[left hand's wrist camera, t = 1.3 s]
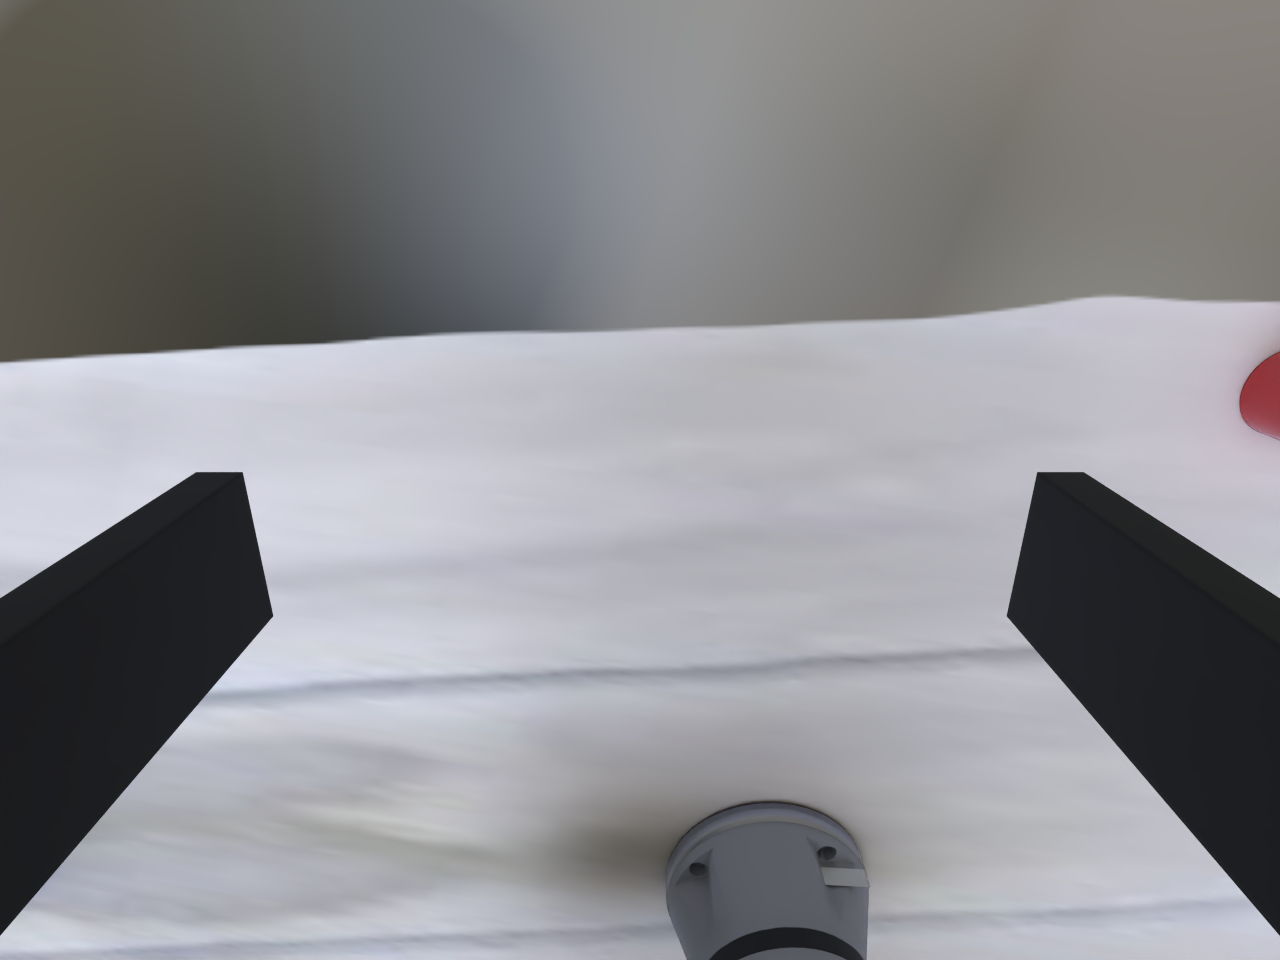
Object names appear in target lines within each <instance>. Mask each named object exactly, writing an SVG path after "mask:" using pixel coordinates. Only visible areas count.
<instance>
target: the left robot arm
mask: <svg viewBox="0 0 1280 960" xmlns="http://www.w3.org/2000/svg"><path fill="white" fill-rule="evenodd" d="M272 617H273V613H272V608H271V603H270V599H269V594H268V589H267V585H266V580H265V575H264V570H263V566H262V561H261V556H260V552H259V547H258V542H257V538H256V533H255V528H254V523H253V519H252V514H251V509H250V505H249V500H248V495H247V491H246V486H245V481H244V476H243V472H196V473H194V474H193V475H191V476H190V477H188V478H187V479H185V480H183V481H182V482H180V483H179V484H177V485H176V486H174V487H173V488H171V489H170V490H168V491H166V492H165V493H163V494H162V495H160V496H159V497H157V498H156V499H154V500H152V501H151V502H149V503H148V504H146V505H145V506H143V507H142V508H140V509H138V510H137V511H135V512H134V513H132V514H131V515H129V516H128V517H126V518H124V519H123V520H121V521H120V522H118V523H117V524H115V525H114V526H112V527H110V528H109V529H107V530H106V531H104V532H103V533H101V534H100V535H98V536H96V537H95V538H93V539H92V540H90V541H89V542H87V543H86V544H84V545H82V546H81V547H79V548H78V549H76V550H75V551H73V552H72V553H70V554H68V555H67V556H65V557H64V558H62V559H61V560H59V561H58V562H56V563H54V564H53V565H51V566H50V567H48V568H47V569H45V570H44V571H42V572H40V573H39V574H37V575H36V576H34V577H33V578H31V579H30V580H28V581H26V582H25V583H23V584H22V585H20V586H19V587H17V588H16V589H14V590H12V591H11V592H9V593H8V594H6V595H5V596H3V597H2V598H0V935H1V934H2V933H3V932H4V931H5V929H6V928H7V927H8V926H9V925H10V924H11V922H12V921H13V920H14V919H15V918H16V917H17V915H18V914H19V913H20V912H21V911H22V910H23V908H24V907H25V906H26V905H27V904H28V902H29V901H30V900H31V899H32V898H33V897H34V895H35V894H36V893H37V892H38V891H39V890H40V888H41V887H42V886H43V885H44V884H45V883H46V881H47V880H48V879H49V878H50V877H51V876H52V874H53V873H54V872H55V871H56V870H57V869H58V867H59V866H60V865H61V864H62V863H63V862H64V860H65V859H66V858H67V857H68V856H69V855H70V853H71V852H72V851H73V850H74V849H75V847H76V846H77V845H78V844H79V843H80V842H81V840H82V839H83V838H84V837H85V836H86V835H87V833H88V832H89V831H90V830H91V829H92V828H93V826H94V825H95V824H96V823H97V822H98V821H99V819H100V818H101V817H102V816H103V815H104V814H105V812H106V811H107V810H108V809H109V808H110V807H111V805H112V804H113V803H114V802H115V801H116V800H117V798H118V797H119V796H120V795H121V794H122V792H123V791H124V790H125V789H126V788H127V787H128V785H129V784H130V783H131V782H132V781H133V780H134V778H135V777H136V776H137V775H138V774H139V773H140V771H141V770H142V769H143V768H144V767H145V766H146V764H147V763H148V762H149V761H150V760H151V759H152V757H153V756H154V755H155V754H156V753H157V752H158V750H159V749H160V748H161V747H162V746H163V745H164V743H165V742H166V741H167V740H168V739H169V737H170V736H171V735H172V734H173V733H174V732H175V730H176V729H177V728H178V727H179V726H180V725H181V723H182V722H183V721H184V720H185V719H186V718H187V716H188V715H189V714H190V713H191V712H192V711H193V709H194V708H195V707H196V706H197V705H198V704H199V702H200V701H201V700H202V699H203V698H204V697H205V695H206V694H207V693H208V692H209V691H210V690H211V688H212V687H213V686H214V685H215V684H216V682H217V681H218V680H219V679H220V678H221V677H222V675H223V674H224V673H225V672H226V671H227V670H228V668H229V667H230V666H231V665H232V664H233V663H234V661H235V660H236V659H237V658H238V657H239V656H240V654H241V653H242V652H243V651H244V650H245V649H246V647H247V646H248V645H249V644H250V643H251V642H252V640H253V639H254V638H255V637H256V636H257V635H258V633H259V632H260V631H261V630H262V629H263V627H264V626H265V625H266V624H267V623H268V622H269V620H270V619H271V618H272ZM1007 617H1008V618H1009V619H1010V620H1011V622H1012V623H1013V624H1014V625H1015V626H1016V627H1017V629H1018V630H1019V631H1020V632H1021V633H1022V635H1023V636H1024V637H1025V638H1026V639H1027V640H1028V642H1029V643H1030V644H1031V645H1032V646H1033V647H1034V649H1035V650H1036V651H1037V652H1038V653H1039V654H1040V656H1041V657H1042V658H1043V659H1044V660H1045V661H1046V663H1047V664H1048V665H1049V666H1050V667H1051V668H1052V670H1053V671H1054V672H1055V673H1056V674H1057V675H1058V677H1059V678H1060V679H1061V680H1062V681H1063V682H1064V684H1065V685H1066V686H1067V687H1068V688H1069V690H1070V691H1071V692H1072V693H1073V694H1074V695H1075V697H1076V698H1077V699H1078V700H1079V701H1080V702H1081V704H1082V705H1083V706H1084V707H1085V708H1086V709H1087V711H1088V712H1089V713H1090V714H1091V715H1092V716H1093V718H1094V719H1095V720H1096V721H1097V722H1098V723H1099V725H1100V726H1101V727H1102V728H1103V729H1104V730H1105V732H1106V733H1107V734H1108V735H1109V736H1110V737H1111V739H1112V740H1113V741H1114V742H1115V743H1116V745H1117V746H1118V747H1119V748H1120V749H1121V750H1122V752H1123V753H1124V754H1125V755H1126V756H1127V757H1128V759H1129V760H1130V761H1131V762H1132V763H1133V764H1134V766H1135V767H1136V768H1137V769H1138V770H1139V771H1140V773H1141V774H1142V775H1143V776H1144V777H1145V778H1146V780H1147V781H1148V782H1149V783H1150V784H1151V785H1152V787H1153V788H1154V789H1155V790H1156V791H1157V792H1158V794H1159V795H1160V796H1161V797H1162V798H1163V800H1164V801H1165V802H1166V803H1167V804H1168V805H1169V807H1170V808H1171V809H1172V810H1173V811H1174V812H1175V814H1176V815H1177V816H1178V817H1179V818H1180V819H1181V821H1182V822H1183V823H1184V824H1185V825H1186V826H1187V828H1188V829H1189V830H1190V831H1191V832H1192V833H1193V835H1194V836H1195V837H1196V838H1197V839H1198V840H1199V842H1200V843H1201V844H1202V845H1203V846H1204V847H1205V849H1206V850H1207V851H1208V852H1209V853H1210V854H1211V856H1212V857H1213V858H1214V859H1215V860H1216V862H1217V863H1218V864H1219V865H1220V866H1221V867H1222V869H1223V870H1224V871H1225V872H1226V873H1227V874H1228V876H1229V877H1230V878H1231V879H1232V880H1233V881H1234V883H1235V884H1236V885H1237V886H1238V887H1239V888H1240V890H1241V891H1242V892H1243V893H1244V894H1245V895H1246V897H1247V898H1248V899H1249V900H1250V901H1251V902H1252V904H1253V905H1254V906H1255V907H1256V908H1257V909H1258V911H1259V912H1260V913H1261V914H1262V915H1263V917H1264V918H1265V919H1266V920H1267V921H1268V922H1269V924H1270V925H1271V926H1272V927H1273V928H1274V929H1275V931H1276V932H1277V933H1278V934H1279V935H1280V598H1278V597H1277V596H1275V595H1274V594H1272V593H1271V592H1269V591H1268V590H1266V589H1264V588H1263V587H1261V586H1260V585H1258V584H1257V583H1255V582H1254V581H1252V580H1250V579H1249V578H1247V577H1246V576H1244V575H1243V574H1241V573H1240V572H1238V571H1236V570H1235V569H1233V568H1232V567H1230V566H1229V565H1227V564H1226V563H1224V562H1222V561H1221V560H1219V559H1218V558H1216V557H1215V556H1213V555H1212V554H1210V553H1208V552H1207V551H1205V550H1204V549H1202V548H1201V547H1199V546H1198V545H1196V544H1194V543H1193V542H1191V541H1190V540H1188V539H1187V538H1185V537H1184V536H1182V535H1180V534H1179V533H1177V532H1176V531H1174V530H1173V529H1171V528H1170V527H1168V526H1166V525H1165V524H1163V523H1162V522H1160V521H1159V520H1157V519H1156V518H1154V517H1152V516H1151V515H1149V514H1148V513H1146V512H1145V511H1143V510H1142V509H1140V508H1138V507H1137V506H1135V505H1134V504H1132V503H1131V502H1129V501H1128V500H1126V499H1124V498H1123V497H1121V496H1120V495H1118V494H1117V493H1115V492H1114V491H1112V490H1110V489H1109V488H1107V487H1106V486H1104V485H1103V484H1101V483H1100V482H1098V481H1097V480H1095V479H1093V478H1092V477H1090V476H1089V475H1087V474H1086V473H1084V472H1037V476H1036V481H1035V486H1034V491H1033V495H1032V500H1031V505H1030V509H1029V514H1028V519H1027V523H1026V528H1025V533H1024V538H1023V542H1022V547H1021V552H1020V556H1019V561H1018V566H1017V570H1016V575H1015V580H1014V585H1013V589H1012V594H1011V599H1010V603H1009V608H1008V613H1007ZM868 887H870V885H869V882H868V879H867V875H866V871H865V868H864V865H863V862H862V859H861V856H860V853H859V850H858V848H857V846H856V844H855V842H854V841H853V839H852V838H851V837H850V835H849V834H848V833H847V832H846V831H845V830H844V829H843V828H842V827H841V826H840V825H838V824H837V823H836V822H835V821H833V820H831V819H830V818H828V817H826V816H825V815H823V814H821V813H818V812H816V811H813V810H811V809H807V808H804V807H800V806H796V805H790V804H782V803H759V804H750V805H744V806H740V807H736V808H732V809H729V810H726V811H723V812H721V813H718V814H716V815H714V816H712V817H710V818H708V819H706V820H704V821H703V822H701V823H700V824H698V825H697V826H696V827H694V828H693V829H692V830H691V831H689V832H688V833H687V834H686V835H685V836H684V837H683V838H682V840H681V841H680V842H679V843H678V845H677V846H676V848H675V849H674V851H673V853H672V855H671V857H670V860H669V862H668V866H667V871H666V897H667V907H668V911H669V915H670V917H671V921H672V923H673V926H674V928H675V931H676V933H677V936H678V938H679V941H680V943H681V946H682V948H683V951H684V953H685V956H686V958H687V960H866V957H867V928H868V899H869V893H868Z"/></svg>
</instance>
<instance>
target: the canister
mask: <svg viewBox="0 0 1280 960" xmlns="http://www.w3.org/2000/svg"><path fill="white" fill-rule="evenodd" d="M1240 409H1241V414H1242V416H1243V418H1244V420H1245V422H1246V423H1247V424H1248V425H1249V426H1250V427H1251V428H1252V429H1254V430H1256V431H1258V432H1260V433H1263V434H1265V435H1268V436H1270V437H1273V438H1275V439H1278V440H1280V352H1279V353H1277V354H1275V355H1273V356H1271V357H1270V358H1268V359H1267V360H1265V361H1264V362H1263V363H1262V364H1260V365H1259V366H1258V367H1257V368H1256V369H1255V370H1254V372H1253V373H1252V374H1251V375H1250V377H1249V378H1248V380H1247V382H1246V383H1245V385H1244V388H1243V390H1242V394H1241V399H1240Z"/></svg>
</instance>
